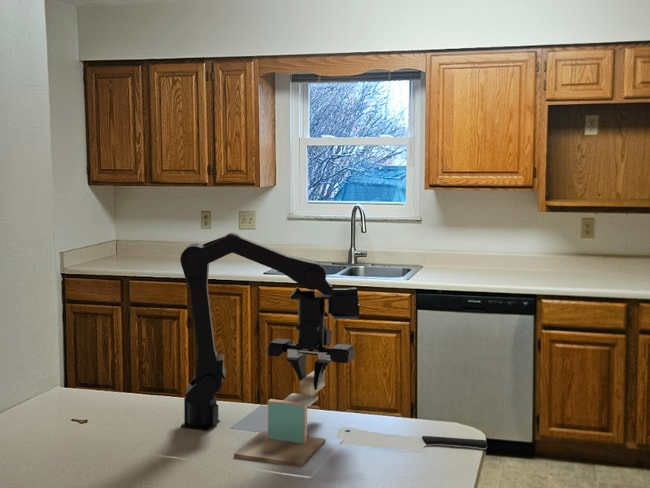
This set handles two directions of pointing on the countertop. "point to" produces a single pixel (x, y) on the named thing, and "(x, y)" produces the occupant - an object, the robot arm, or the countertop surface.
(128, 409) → the countertop surface
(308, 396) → the turner
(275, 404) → the tile
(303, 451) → the board
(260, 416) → the mat
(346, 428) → the kitchen cleaver
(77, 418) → the countertop surface
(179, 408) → the countertop surface
